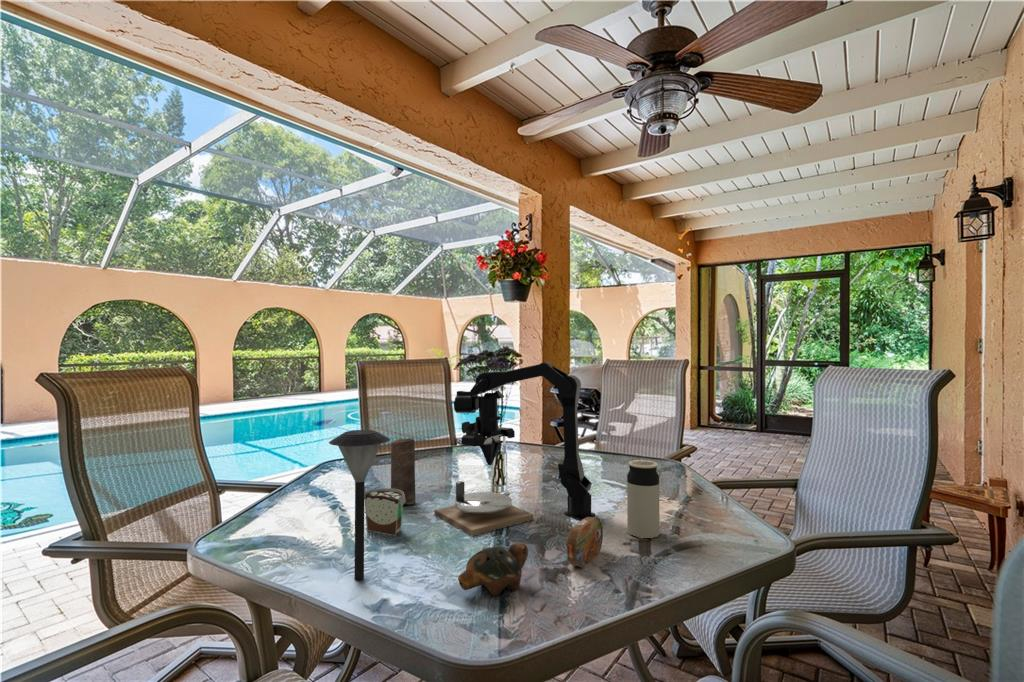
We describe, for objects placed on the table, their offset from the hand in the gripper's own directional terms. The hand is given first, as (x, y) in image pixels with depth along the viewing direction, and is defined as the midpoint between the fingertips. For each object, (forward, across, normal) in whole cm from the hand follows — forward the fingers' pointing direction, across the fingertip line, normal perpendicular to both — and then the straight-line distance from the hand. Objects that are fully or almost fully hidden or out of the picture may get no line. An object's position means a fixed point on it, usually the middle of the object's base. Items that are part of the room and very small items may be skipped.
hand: (489, 464), depth 148 cm
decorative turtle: (+13, +39, +34) cm, 53 cm away
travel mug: (+14, -7, +45) cm, 48 cm away
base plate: (+12, +9, +5) cm, 16 cm away
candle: (+12, +15, -23) cm, 30 cm away
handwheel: (+11, +9, +5) cm, 15 cm away
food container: (+12, +31, -8) cm, 35 cm away
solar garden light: (+12, +53, +10) cm, 55 cm away
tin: (+14, +16, +41) cm, 46 cm away
